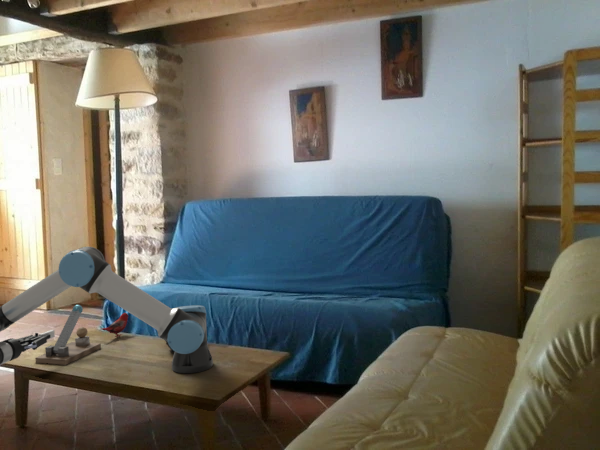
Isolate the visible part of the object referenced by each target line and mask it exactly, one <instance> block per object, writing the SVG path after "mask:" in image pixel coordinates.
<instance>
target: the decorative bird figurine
mask: <svg viewBox="0 0 600 450" xmlns="http://www.w3.org/2000/svg"><path fill="white" fill-rule="evenodd" d="M129 316H130V315H128V313H127V312H123V313H122V314H121V315H120V316H119V318H118V319H116V320H114V321H113V322H112V323H111V324H110V325H109V326H108V327H102V328H99V330H100V331H101V330H102V331H106V332H108V333H110V334H114V335H115V336H114V338H116V337H117V338H118V337H121V336H122V335H123V333H122V332H123V331H124V330H125V328H126V326H127V323H128V318H129ZM120 333H121V334H120Z"/></svg>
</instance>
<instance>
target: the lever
mask: <svg viewBox="0 0 600 450" xmlns="http://www.w3.org/2000/svg"><path fill="white" fill-rule="evenodd" d="M83 310H84V309H83V306H82V305H81V304H75V305H74V306H73V307H72V309H71V311H70V313H69V316H68V318H67V320H66V322H65V323H64V326H63V328H62V329H61V332H60V334H59V336H58V338H57V340H56V342H55V344H54V345H53V346H54V348H53V352H52V353H53V354H56V355H58V348H60V347H62V346H66V344H68V342H69V340H70V338H71V336H72V333H73V331H74V329H75V327H76V325H77V323H78V322H79V321H78V320H79V319H80V316H81V314H82V312H83Z"/></svg>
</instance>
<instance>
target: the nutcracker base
mask: <svg viewBox="0 0 600 450" xmlns="http://www.w3.org/2000/svg"><path fill="white" fill-rule="evenodd" d="M75 332H76V336H77V337H75V338H74V341H71V342H69V343H67V344H66V346H62V347H60V348H58V355H56V354H53V353H52V352H53V348H54V346H55V345H48V346H46V347H44V351H45V353H43V354H41V355H39V356H36V357H35V364H46V363H48V365H59V366H60V365H65V366H66V365H69V364H70V363H73V362H75V361H77V360H79V359H82V358H84V357H86V356H87V355H90V354H91V353H94V352H95V351H97V350H100V349H101V348H102V347H101V344H102V343H100V342H98V343H97V342H91V341H90V335H88V328H86V327H85V326H80V327H78V328H77V329H76V331H75ZM87 335H88V336H87Z"/></svg>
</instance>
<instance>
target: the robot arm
mask: <svg viewBox="0 0 600 450" xmlns="http://www.w3.org/2000/svg"><path fill="white" fill-rule="evenodd" d="M111 265H112V264H110V263H109V262H107V261H106V260H105V257H104V255H103V253H102V252H101V251H100V249H97V248H96V247H94V246H82V247H80V248H78V249H73V250H70V251H68V252H67V253H66V254H64V256H63V257H61V260H60V261H59V264H58V269H57V270H56V271H54V272H52V273H51V274H49V275H47V276H46V277H44V278H43V279H41V280H40V281H38V282H36V283H34V284H33V285H32V286H30V287H28V288H26V289H25V290H24V291H23V292H21V293H19V294H18V295H16V296H15V297H13V298H12V299H10V300H9V301H7V302H5V303H3V305H1V306H0V333H1V332H2V331H4V330H6V329H8V328H9V327H10V326H11V325H14V324H15V323H16V322H17V321H19V320H21V319H22V318H24V317H26V316H27V315H29V314H31V313H32V312H33V311H35V310H36V309H38V308H40V307H41V306H44V305H45V304H46V303H47V302H49V301H51V300H52V299H54V298H55V297H57V296H59V295H61V294H62V293H63V292H65V291H67V290H68V289H69V288H72V287H74V288H80V289H81V290H84V291H85V292H86V293H88V294H94V293H97V294H98V295H100V296H102V297H103V298H105V299H107V300H108V301H109V302H111V303H113V304H114V305H116V306H117V307H120V308H121V309H122V310H124V311H126V313H127V312H128V313H129V314H130V315H132V316H134V317H135V318H137V319H139V320H140V321H142V322H143V323H145V324H147V325H149V326H150V327H151V328H153V329H155V331H157V335H158V337H159V338H160V339H163V340H164V342H166V341H167V342H168V344H169V346H170V347H171V348H172V349H173V350H174V351H175V352H174V353H173V357H172V361H171V370H172V371H173V372H175V373H178V374H195V373H200V372H204V371H207V370H209V369H211V368H212V367H213V365H214V363H213V362H214V361H213V360H214V359H213V355H212V354H211V351H210V349H209V346H208V334H207V333H208V332H207V331H208V330H207V311H206V307H205V306H204V305H197V304H196V305H184V306H183V305H182V306H176V307H174V308H171V307H169V306H168V305H166V304H165V303H163V302H162V301H160V300H159V299H156V298H155V297H153V295H150V294H149V293H147V292H146V291H144V290H143V289H142V288H139V287H138V286H136V285H135V284H133V283H132V282H130V281H128V280H127V279H126V278H123V277H122V276H120V275H118V273H116V272H114V271H113V270H112V266H111ZM55 337H56V336H55V329H49V330H48V331H44V332H42V333H39V332H35V333H34V334H30V335H26V336H23V337H20V338H19V337H18V338H8V339H5V340H2V341H0V367H1V365H3V364H6V363H8V362H11V361H14V360H17V359H18V358H20V356H21V354H22V353H24V352H26V351H27V350H30V349H31V350H33V351H35V350H37V349H38V348H40V347H41V346H43V345H44V344H46V343H48V340H51V339H53V338H55Z"/></svg>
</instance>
